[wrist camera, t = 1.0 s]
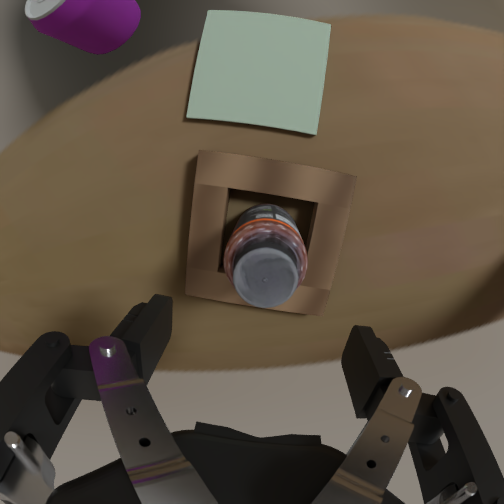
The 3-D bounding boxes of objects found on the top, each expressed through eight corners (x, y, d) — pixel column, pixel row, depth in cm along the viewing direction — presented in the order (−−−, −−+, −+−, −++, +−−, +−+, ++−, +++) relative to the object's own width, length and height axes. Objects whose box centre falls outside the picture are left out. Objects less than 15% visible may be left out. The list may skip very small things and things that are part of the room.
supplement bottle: (256, 272, 29) (249, 337, 19) (223, 223, 28) (195, 265, 17) (308, 242, 28) (330, 294, 17) (276, 190, 27) (280, 212, 16)
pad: (329, 26, 21) (331, 24, 20) (315, 135, 25) (316, 134, 24) (209, 12, 21) (208, 10, 21) (188, 118, 25) (186, 117, 24)
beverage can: (148, -6, 20) (98, -59, 9) (140, 48, 23) (76, 5, 11) (91, 11, 21) (31, -24, 9) (81, 63, 23) (10, 40, 12)
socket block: (350, 175, 26) (356, 176, 24) (320, 306, 30) (322, 316, 28) (203, 150, 26) (198, 149, 24) (189, 286, 30) (184, 294, 28)
